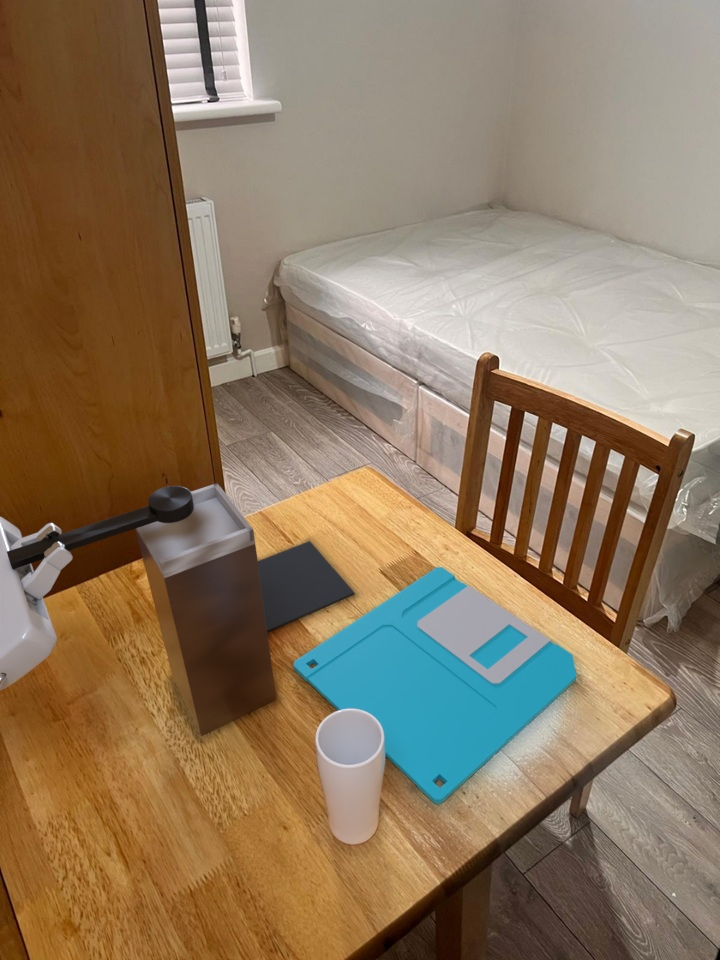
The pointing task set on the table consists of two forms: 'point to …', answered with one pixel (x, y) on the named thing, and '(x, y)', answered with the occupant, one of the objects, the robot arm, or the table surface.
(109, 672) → the table surface
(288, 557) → the mat
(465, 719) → the diskette
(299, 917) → the table surface
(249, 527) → the stand
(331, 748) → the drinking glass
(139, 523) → the lever handle
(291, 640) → the table surface
